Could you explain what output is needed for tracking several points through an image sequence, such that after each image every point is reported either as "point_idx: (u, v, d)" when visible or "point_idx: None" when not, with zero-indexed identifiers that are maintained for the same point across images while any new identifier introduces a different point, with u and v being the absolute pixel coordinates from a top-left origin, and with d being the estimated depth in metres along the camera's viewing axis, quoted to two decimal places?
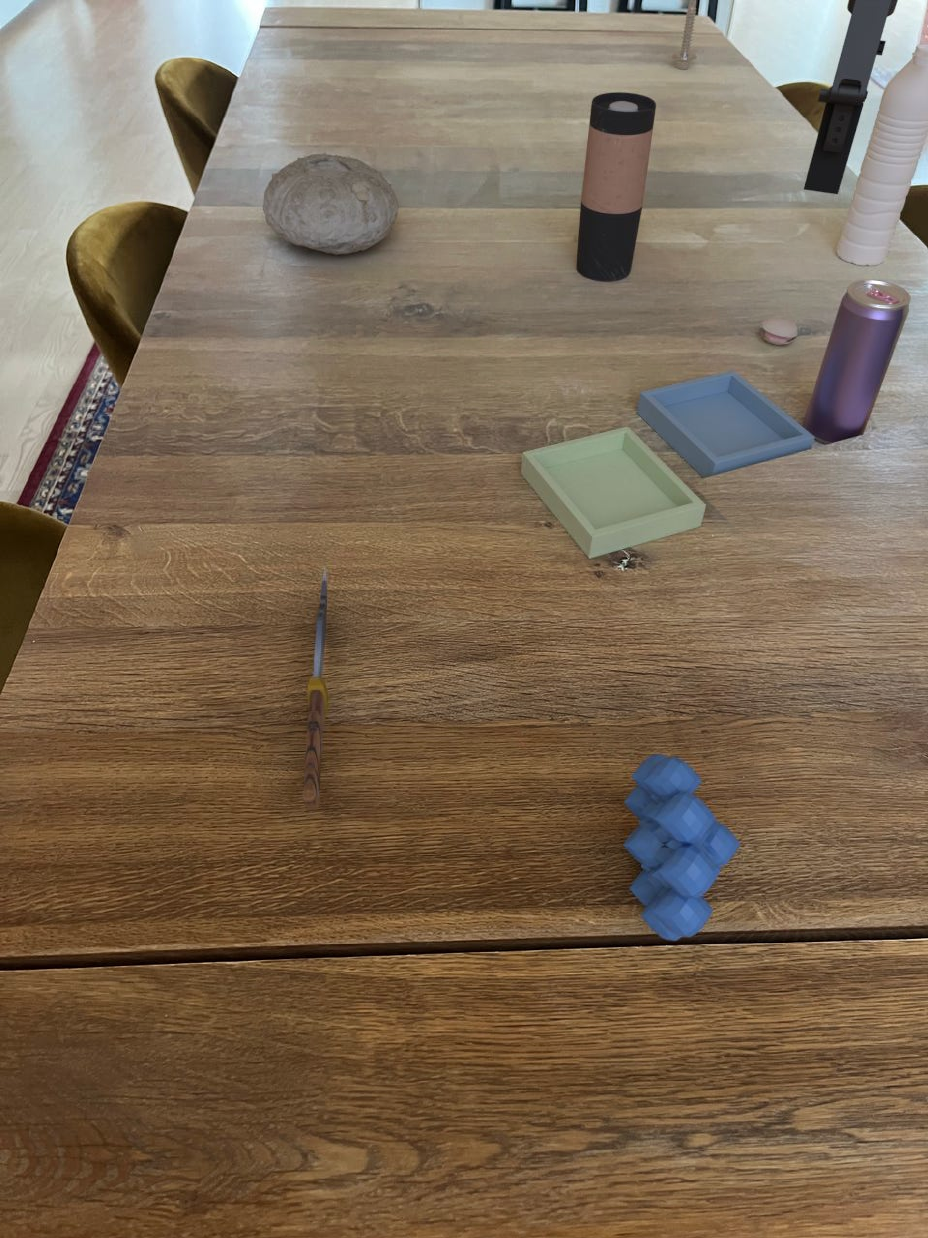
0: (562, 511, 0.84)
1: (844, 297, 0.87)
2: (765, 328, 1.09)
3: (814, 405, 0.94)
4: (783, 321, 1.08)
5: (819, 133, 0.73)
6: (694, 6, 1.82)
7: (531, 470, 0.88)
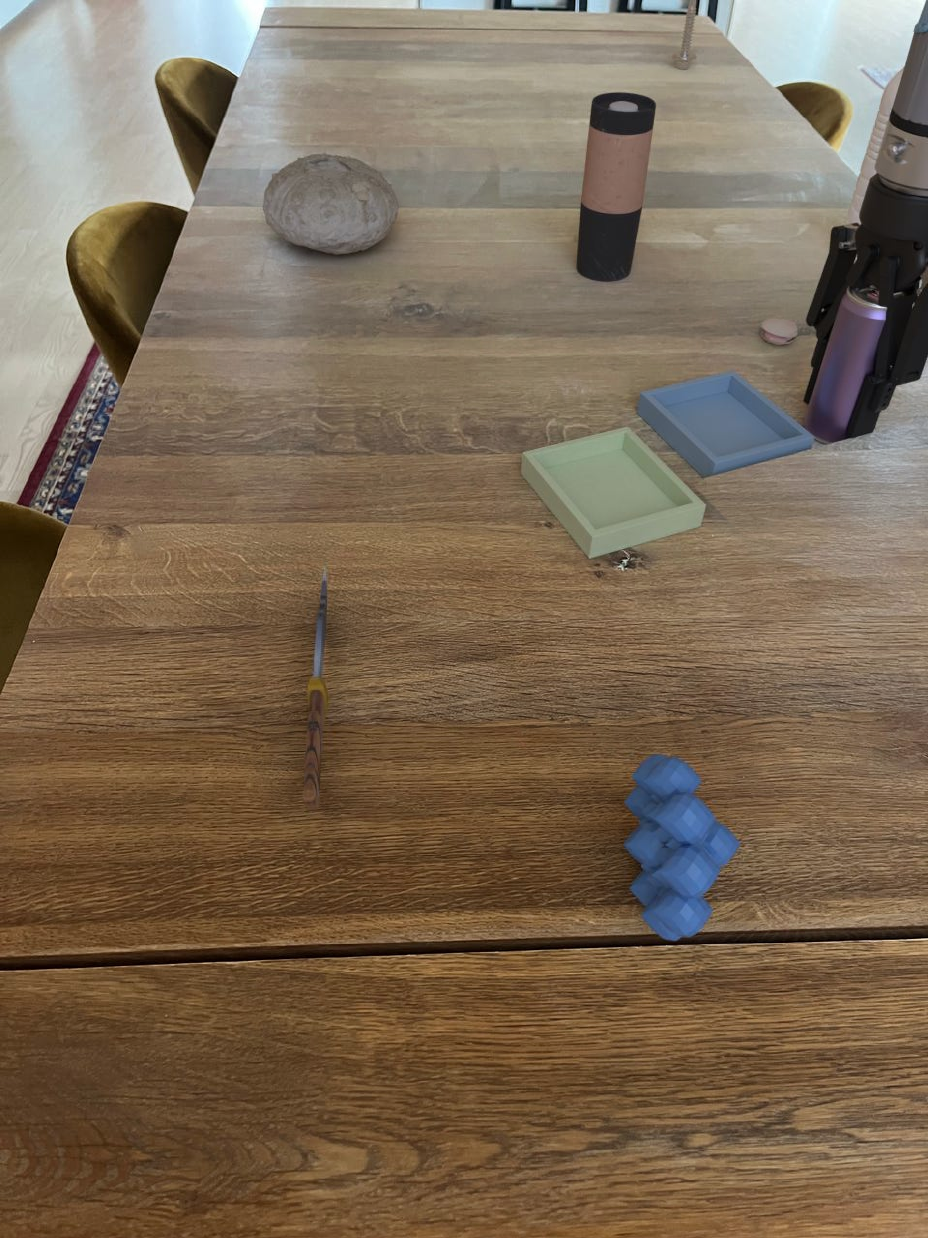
0: (562, 511, 0.84)
1: (844, 297, 0.87)
2: (765, 328, 1.09)
3: (814, 405, 0.94)
4: (783, 321, 1.08)
5: (865, 401, 0.90)
6: (694, 6, 1.82)
7: (531, 470, 0.88)
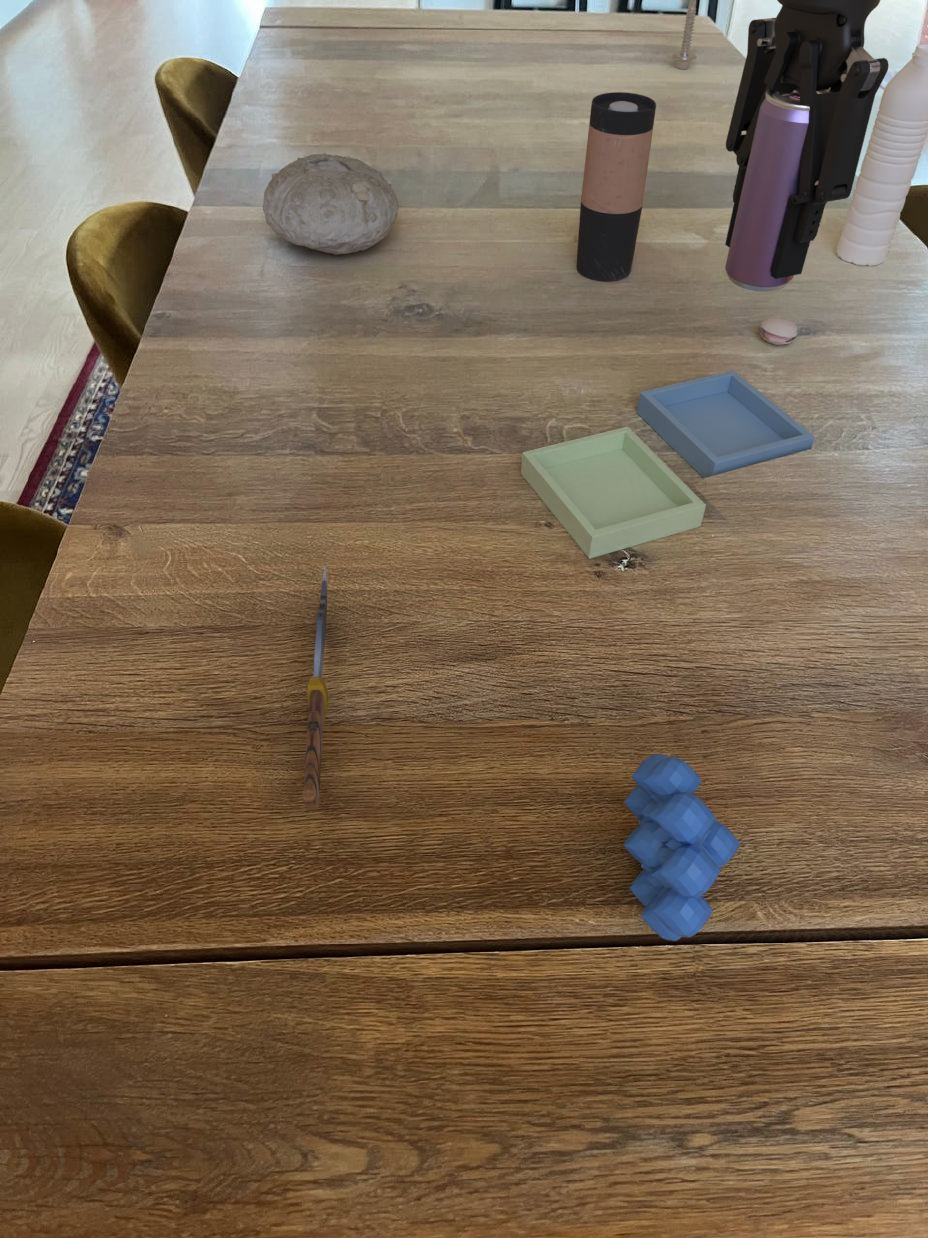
0: (562, 511, 0.84)
1: (763, 102, 0.75)
2: (765, 328, 1.09)
3: (734, 242, 0.82)
4: (783, 321, 1.08)
5: (789, 229, 0.77)
6: (694, 6, 1.82)
7: (531, 470, 0.88)
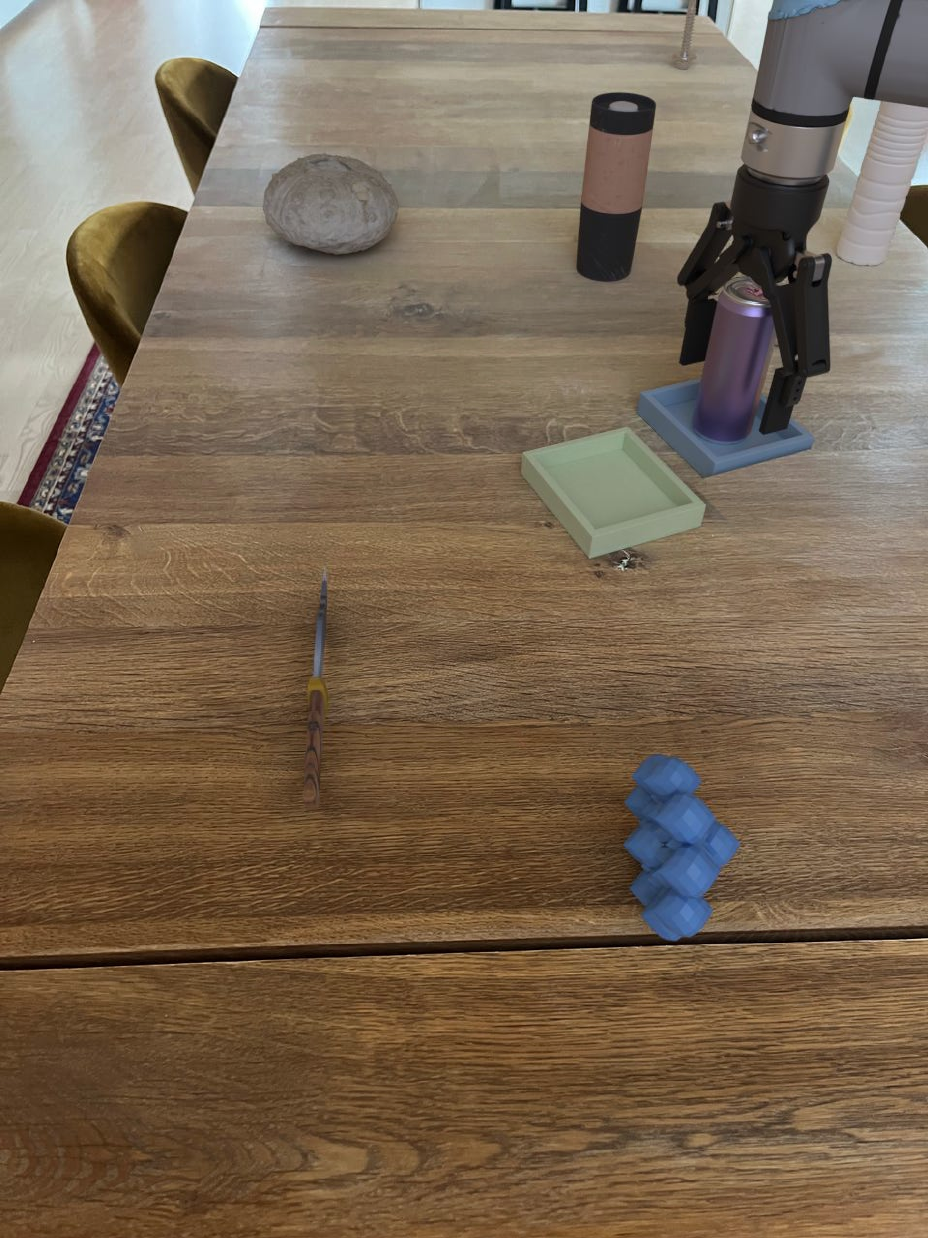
0: (562, 511, 0.84)
1: (720, 294, 0.86)
2: None
3: (699, 403, 0.93)
4: None
5: (775, 395, 0.85)
6: (694, 6, 1.82)
7: (531, 470, 0.88)
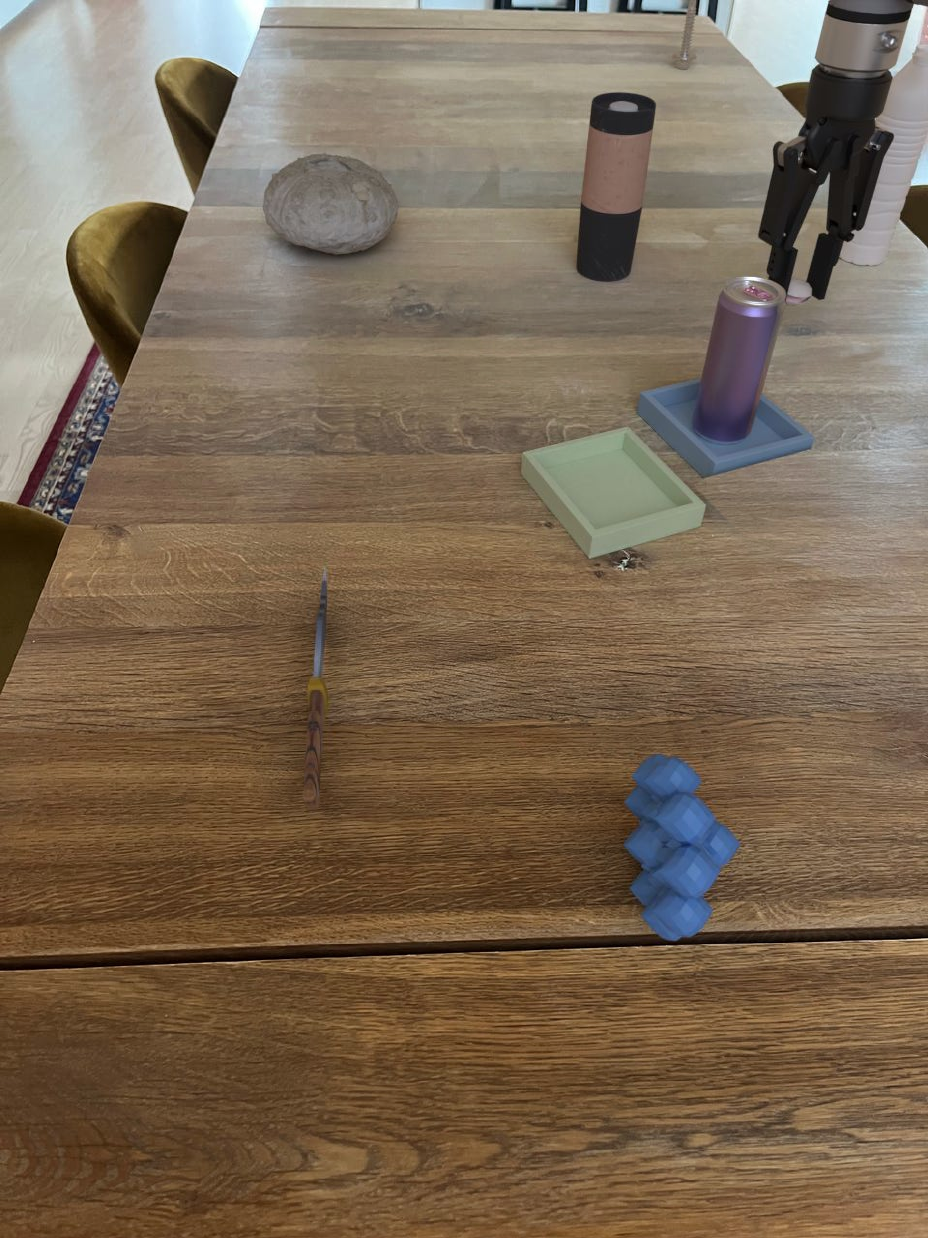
0: (562, 511, 0.84)
1: (721, 294, 0.86)
2: None
3: (699, 403, 0.93)
4: (797, 281, 1.05)
5: (834, 261, 1.04)
6: (694, 6, 1.82)
7: (531, 470, 0.88)
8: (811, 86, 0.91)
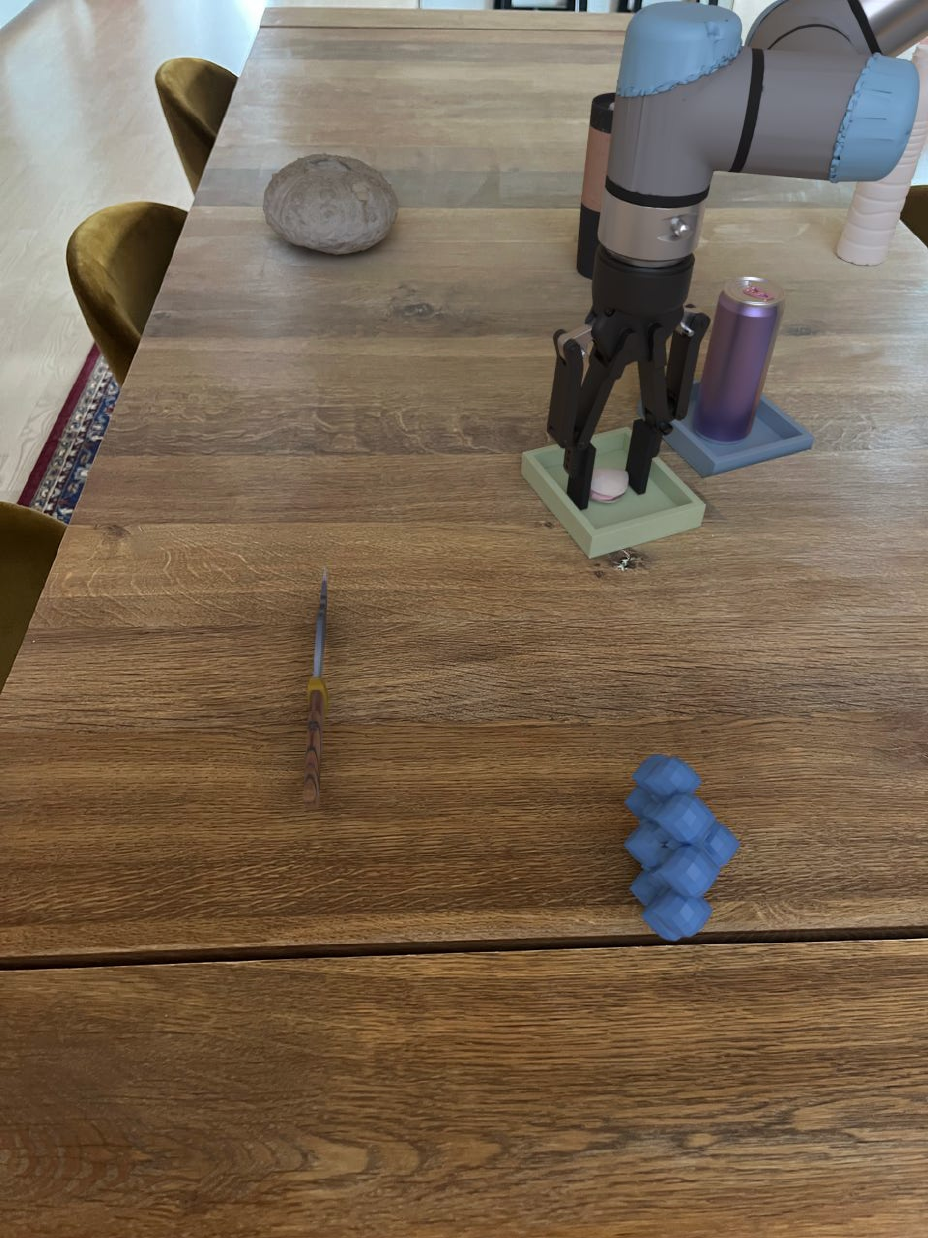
0: (562, 511, 0.84)
1: (721, 294, 0.86)
2: None
3: (699, 403, 0.93)
4: (608, 474, 0.86)
5: None
6: None
7: (531, 470, 0.88)
8: (595, 268, 0.72)
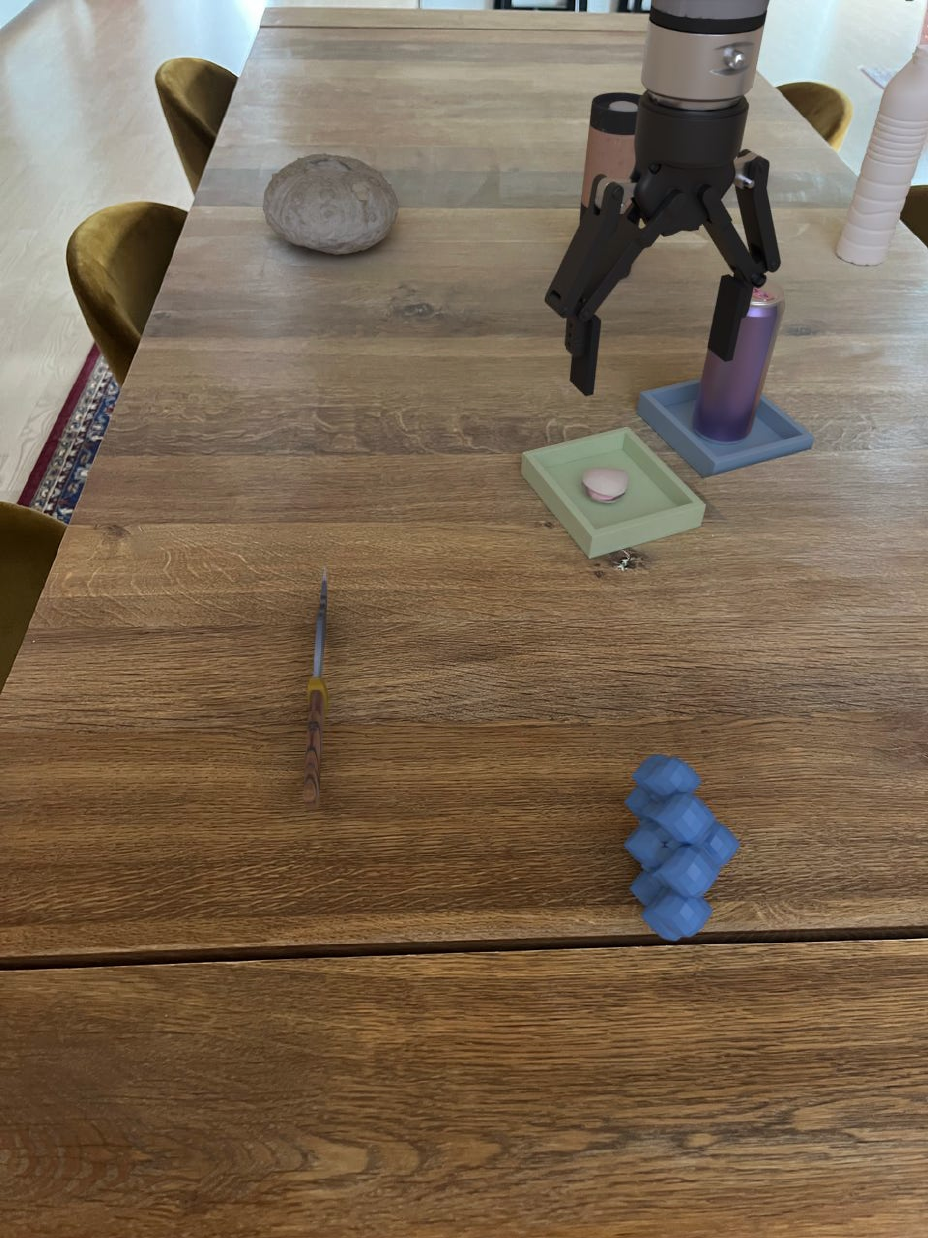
0: (562, 511, 0.84)
1: None
2: (585, 482, 0.86)
3: (699, 403, 0.93)
4: (608, 474, 0.86)
5: (741, 313, 0.78)
6: None
7: (531, 470, 0.88)
8: (638, 119, 0.65)
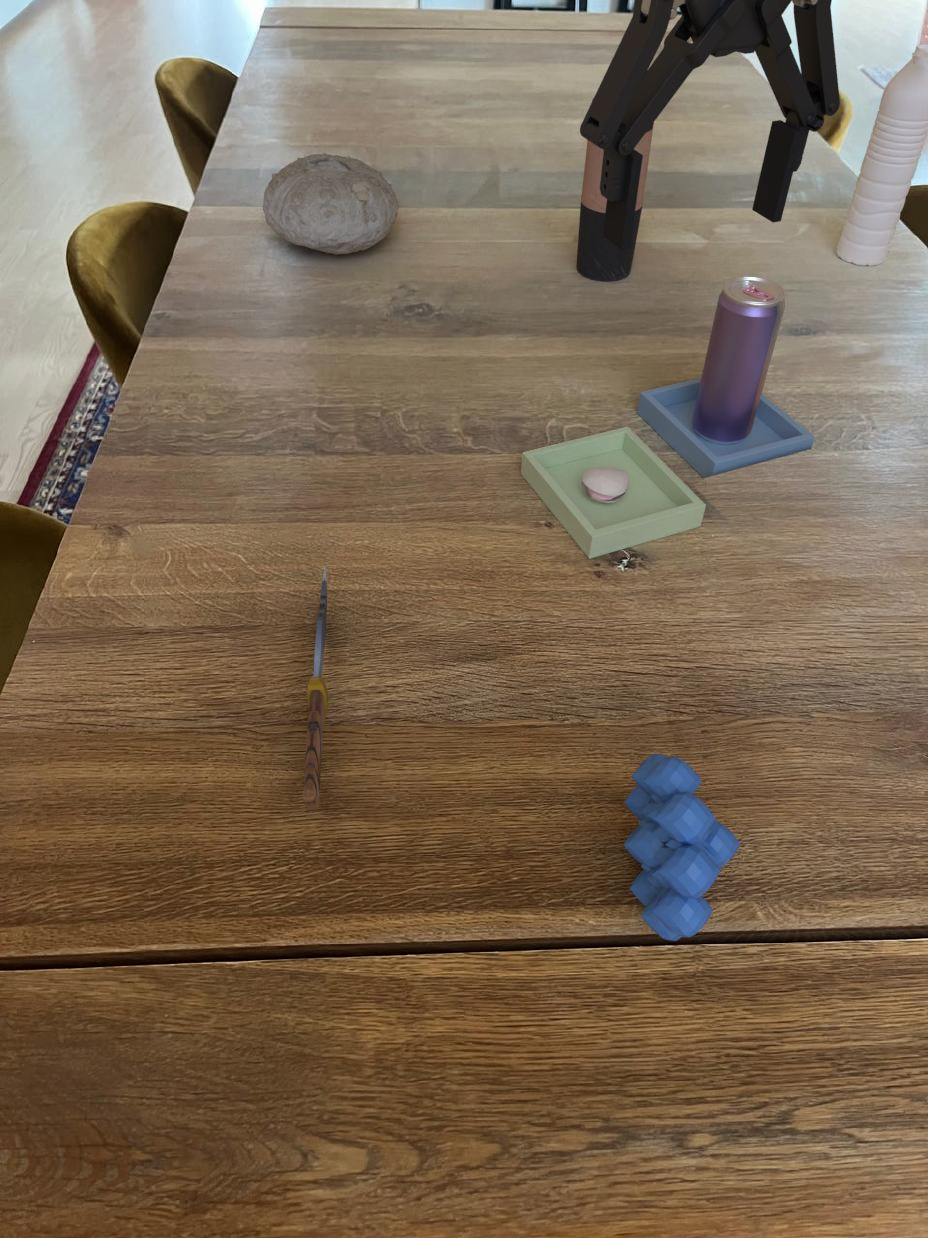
0: (562, 511, 0.84)
1: (721, 294, 0.86)
2: (585, 482, 0.86)
3: (699, 403, 0.93)
4: (608, 474, 0.86)
5: (794, 163, 0.70)
6: None
7: (531, 470, 0.88)
8: None
